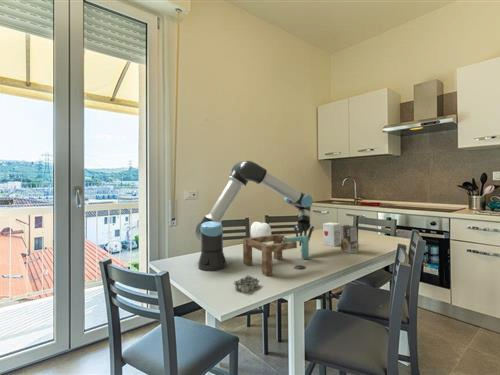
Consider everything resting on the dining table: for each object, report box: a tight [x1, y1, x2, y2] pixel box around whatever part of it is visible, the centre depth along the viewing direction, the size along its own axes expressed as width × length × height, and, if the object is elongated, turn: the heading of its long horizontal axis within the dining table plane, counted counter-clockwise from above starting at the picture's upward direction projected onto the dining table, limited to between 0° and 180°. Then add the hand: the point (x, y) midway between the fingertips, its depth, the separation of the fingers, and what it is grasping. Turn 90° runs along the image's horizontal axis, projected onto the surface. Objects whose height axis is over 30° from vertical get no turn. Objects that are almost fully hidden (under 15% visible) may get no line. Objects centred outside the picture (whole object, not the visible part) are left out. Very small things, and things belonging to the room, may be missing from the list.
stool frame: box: [242, 233, 307, 277], centre depth 147 cm, size 25×25×14 cm
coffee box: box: [340, 224, 359, 254], centre depth 174 cm, size 9×6×16 cm
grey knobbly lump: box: [233, 274, 261, 293], centre depth 118 cm, size 11×8×4 cm
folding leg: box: [282, 235, 310, 259], centre depth 157 cm, size 16×4×13 cm, turn 110°
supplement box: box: [322, 222, 342, 247], centre depth 194 cm, size 9×9×15 cm
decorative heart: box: [250, 221, 272, 245], centre depth 191 cm, size 18×11×17 cm, turn 38°
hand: (302, 250), depth 162 cm, fingers closed
